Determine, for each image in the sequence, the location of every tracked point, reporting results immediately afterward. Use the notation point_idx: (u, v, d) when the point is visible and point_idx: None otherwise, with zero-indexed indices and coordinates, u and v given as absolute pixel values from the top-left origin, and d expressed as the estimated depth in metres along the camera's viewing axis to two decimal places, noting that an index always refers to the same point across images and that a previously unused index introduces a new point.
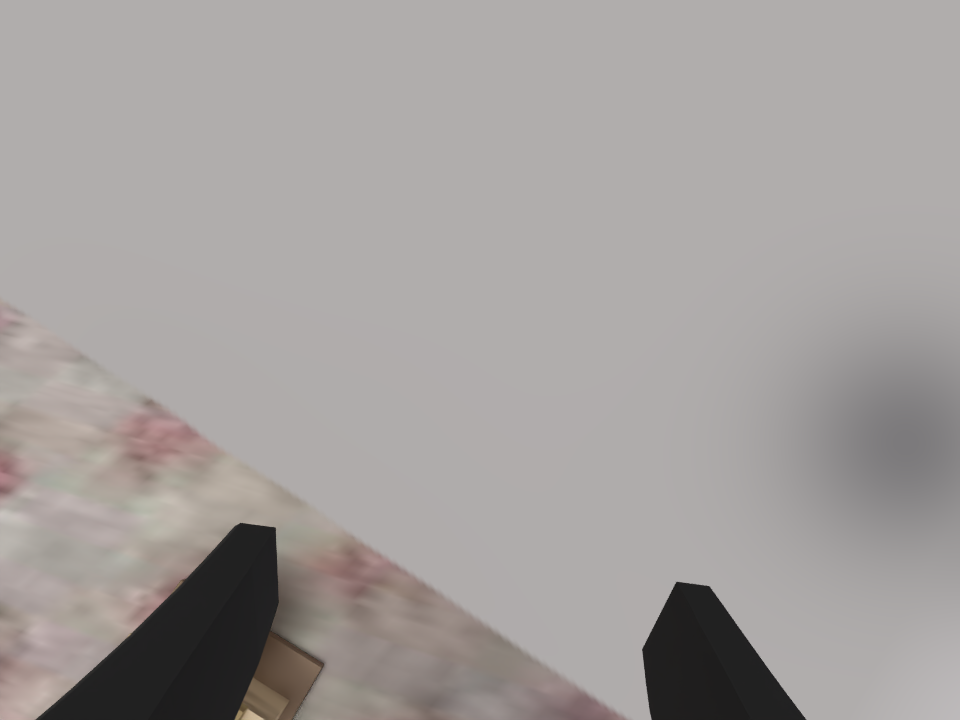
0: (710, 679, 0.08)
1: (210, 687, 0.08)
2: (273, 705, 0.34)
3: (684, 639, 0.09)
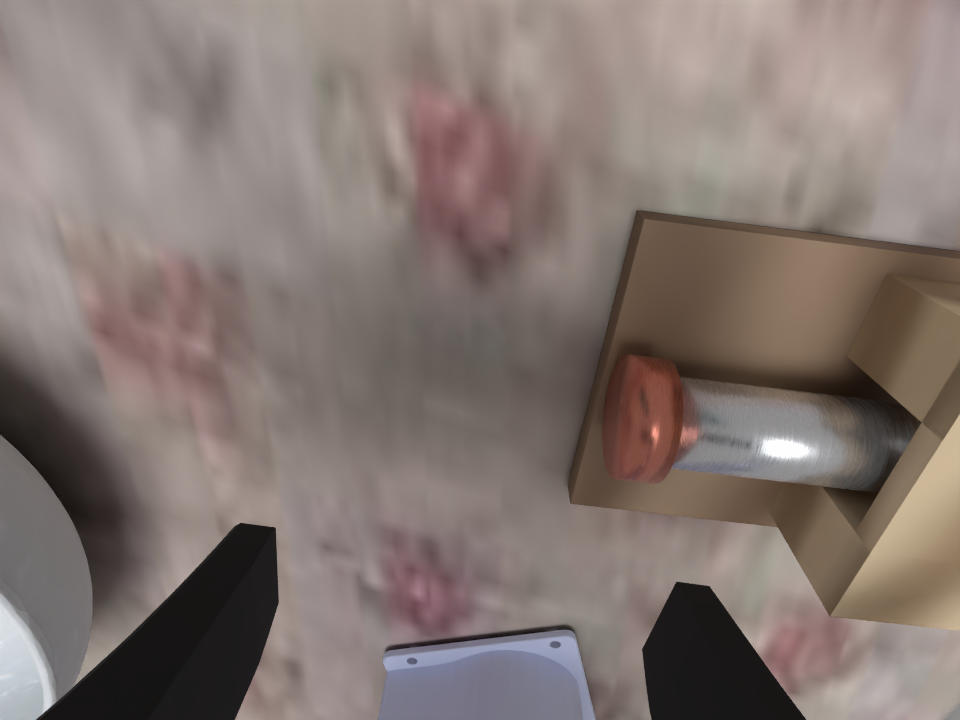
0: (710, 679, 0.08)
1: (211, 687, 0.08)
2: None
3: (684, 639, 0.09)
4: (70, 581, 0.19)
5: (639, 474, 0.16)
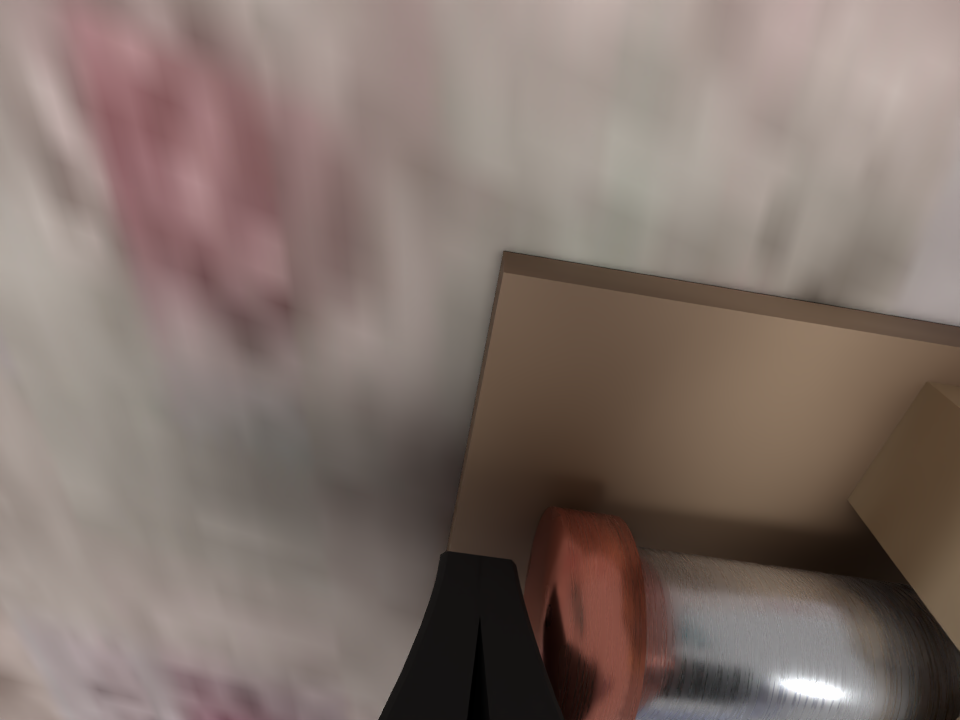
0: (477, 649, 0.08)
1: None
2: None
3: None
4: None
5: None
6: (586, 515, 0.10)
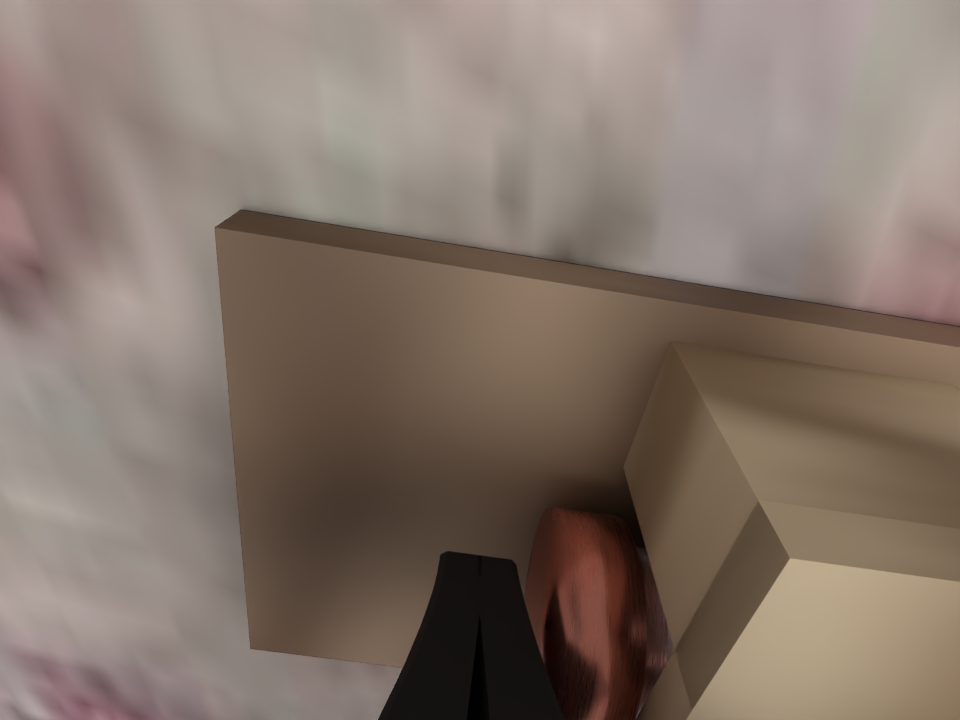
0: (477, 649, 0.08)
1: None
2: None
3: None
4: None
5: None
6: (586, 516, 0.10)
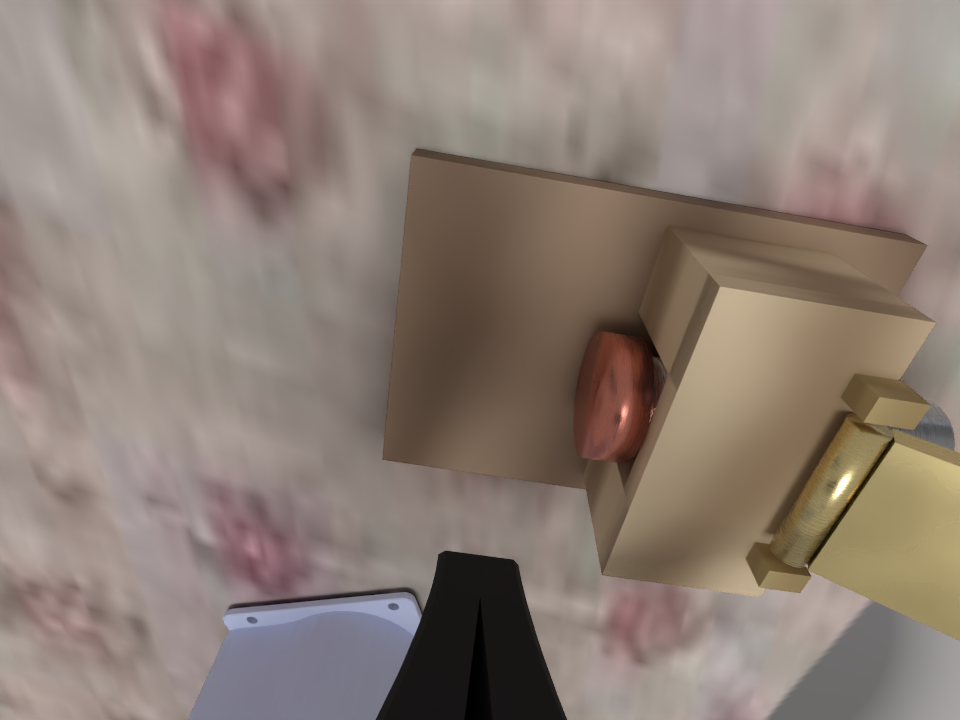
0: (479, 650, 0.08)
1: None
2: None
3: None
4: None
5: (607, 452, 0.16)
6: None
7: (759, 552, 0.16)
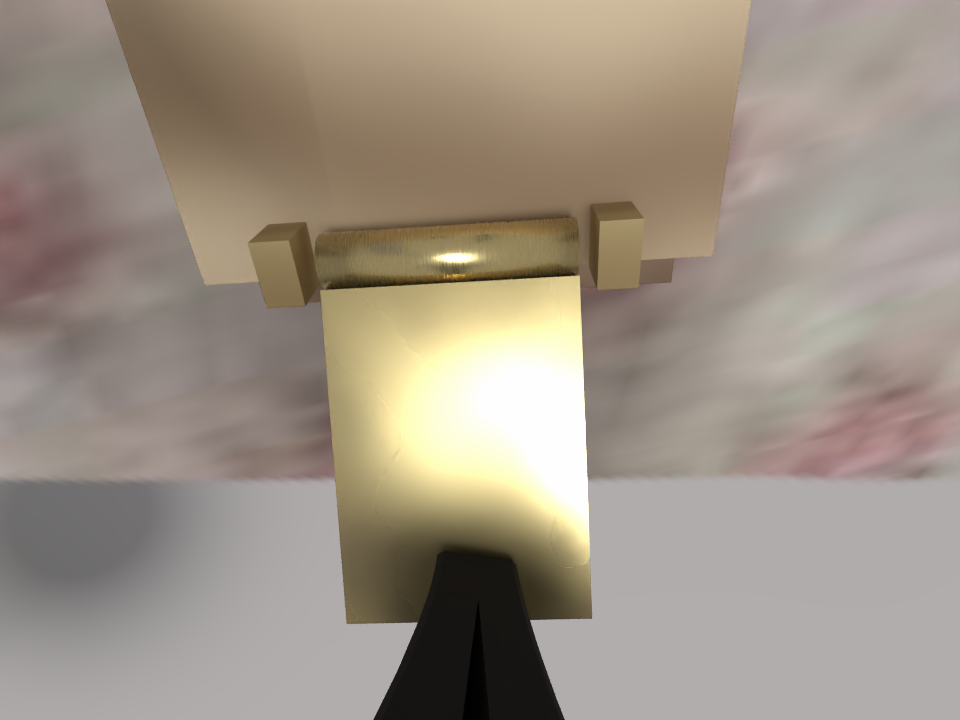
0: (477, 649, 0.08)
1: None
2: None
3: None
4: None
5: None
6: None
7: (298, 228, 0.10)
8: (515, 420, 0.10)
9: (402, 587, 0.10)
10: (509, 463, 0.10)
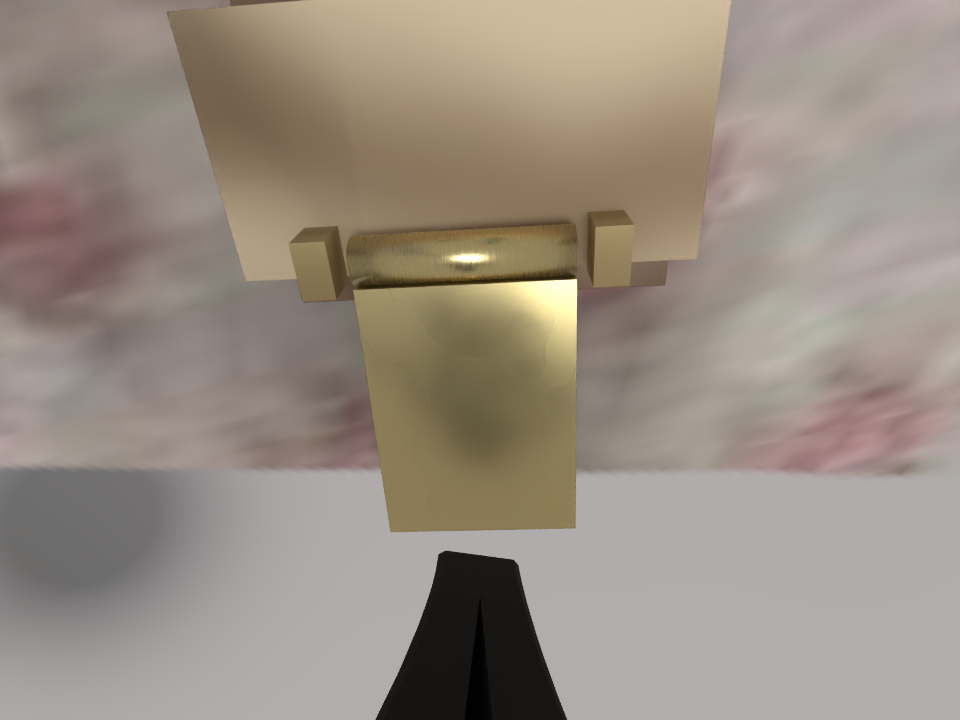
0: (479, 650, 0.08)
1: None
2: None
3: None
4: None
5: None
6: None
7: (331, 231, 0.11)
8: (519, 392, 0.12)
9: (431, 508, 0.13)
10: (514, 424, 0.12)
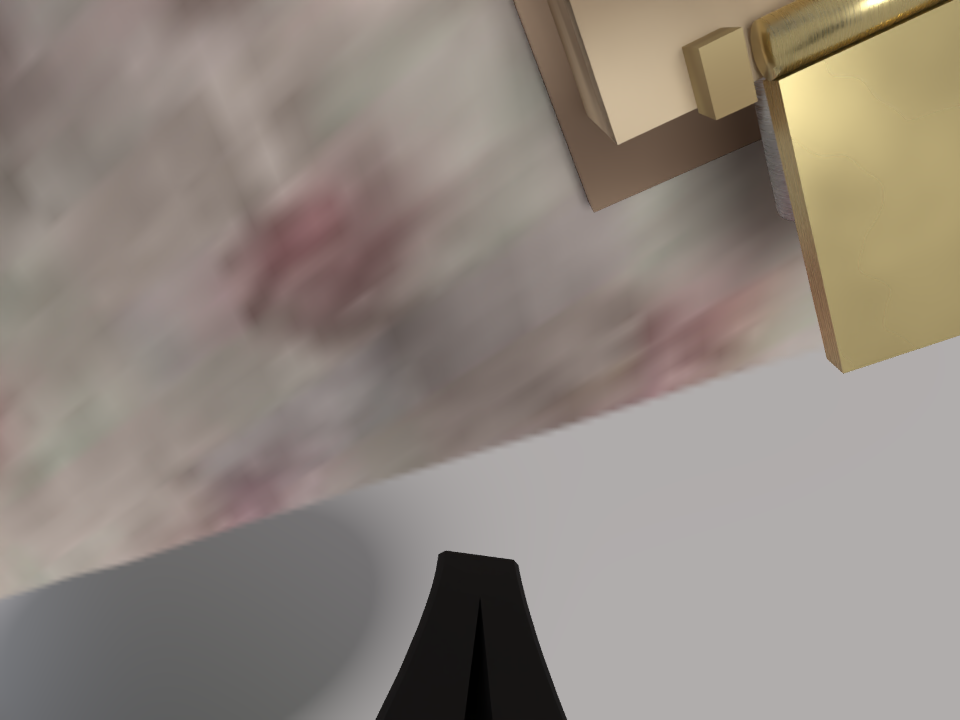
0: (479, 650, 0.08)
1: None
2: None
3: None
4: None
5: None
6: None
7: (725, 29, 0.10)
8: None
9: (894, 327, 0.11)
10: None
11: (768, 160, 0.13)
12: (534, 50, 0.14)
